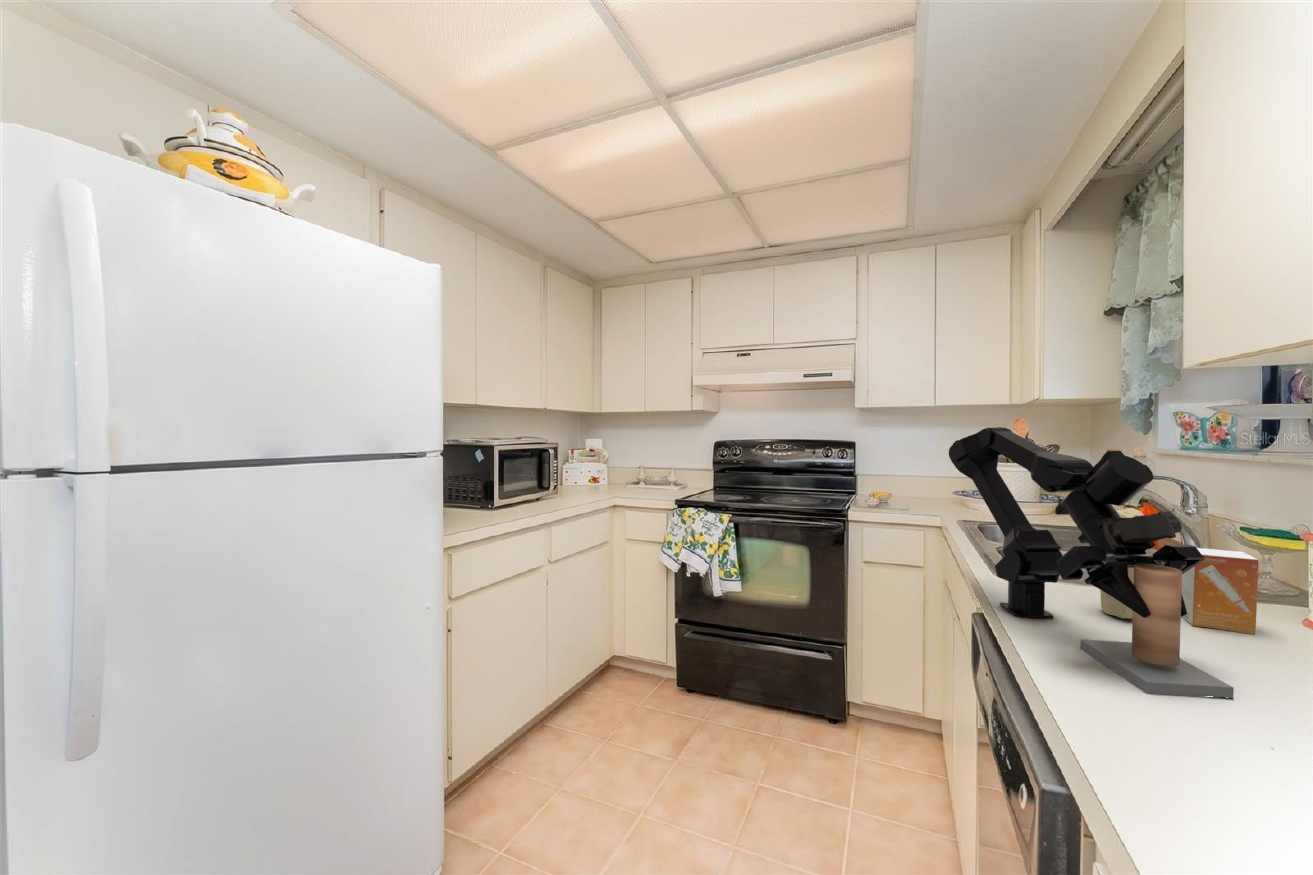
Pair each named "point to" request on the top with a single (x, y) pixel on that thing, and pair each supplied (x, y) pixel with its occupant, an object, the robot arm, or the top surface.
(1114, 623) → the top surface
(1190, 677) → the slate board
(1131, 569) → the food model
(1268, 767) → the top surface
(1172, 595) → the banded brown cylinder
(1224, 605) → the small box
